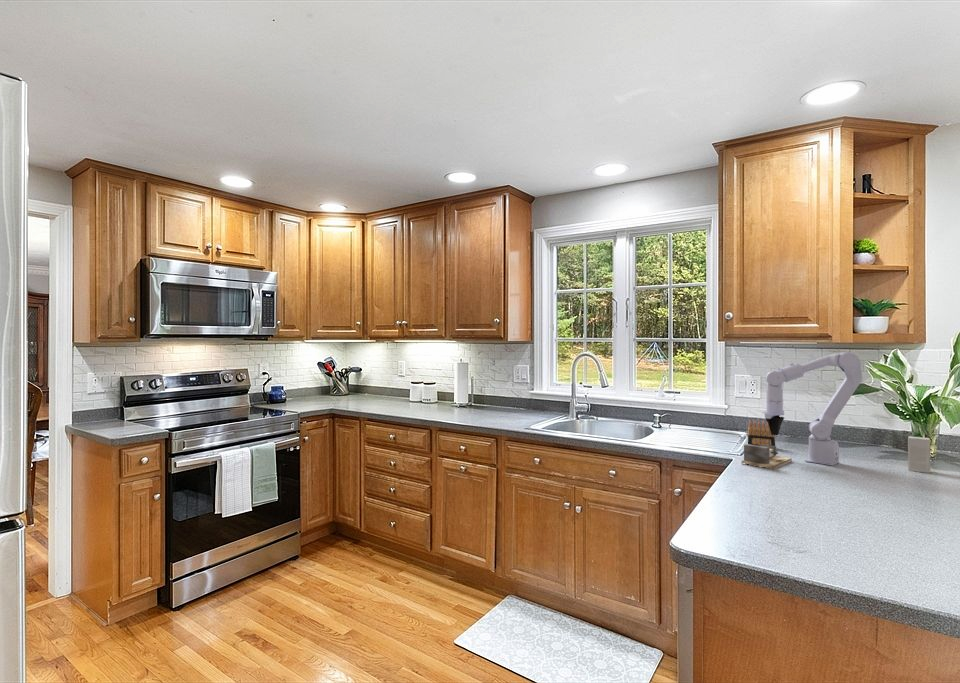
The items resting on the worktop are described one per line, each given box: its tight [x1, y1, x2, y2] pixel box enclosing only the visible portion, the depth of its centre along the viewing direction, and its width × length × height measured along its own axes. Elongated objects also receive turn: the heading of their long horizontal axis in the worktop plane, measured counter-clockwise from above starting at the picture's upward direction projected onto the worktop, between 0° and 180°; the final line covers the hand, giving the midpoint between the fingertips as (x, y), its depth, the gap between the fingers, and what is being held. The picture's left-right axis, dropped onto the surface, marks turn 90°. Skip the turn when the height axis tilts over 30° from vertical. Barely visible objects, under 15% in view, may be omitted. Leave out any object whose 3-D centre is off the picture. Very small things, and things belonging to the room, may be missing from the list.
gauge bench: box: [741, 443, 793, 470], centre depth 200 cm, size 11×19×7 cm, turn 130°
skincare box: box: [907, 435, 931, 474], centre depth 186 cm, size 6×4×12 cm
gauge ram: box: [759, 444, 779, 457], centre depth 200 cm, size 8×8×4 cm
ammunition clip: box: [747, 419, 776, 446], centre depth 228 cm, size 11×2×12 cm, turn 56°
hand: (774, 434), depth 207 cm, fingers closed
